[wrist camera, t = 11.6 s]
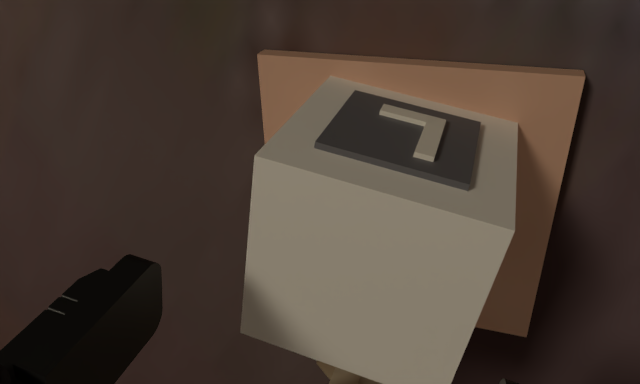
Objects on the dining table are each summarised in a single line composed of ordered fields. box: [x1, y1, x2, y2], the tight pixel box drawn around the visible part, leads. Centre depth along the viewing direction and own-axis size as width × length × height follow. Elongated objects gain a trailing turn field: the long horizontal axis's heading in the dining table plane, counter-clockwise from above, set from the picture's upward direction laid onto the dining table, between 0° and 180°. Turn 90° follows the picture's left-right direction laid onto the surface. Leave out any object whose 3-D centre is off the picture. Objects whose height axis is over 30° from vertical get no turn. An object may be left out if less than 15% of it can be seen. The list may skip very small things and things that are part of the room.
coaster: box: [257, 50, 585, 337], centre depth 19 cm, size 10×10×1 cm
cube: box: [240, 76, 518, 384], centre depth 16 cm, size 6×6×6 cm
